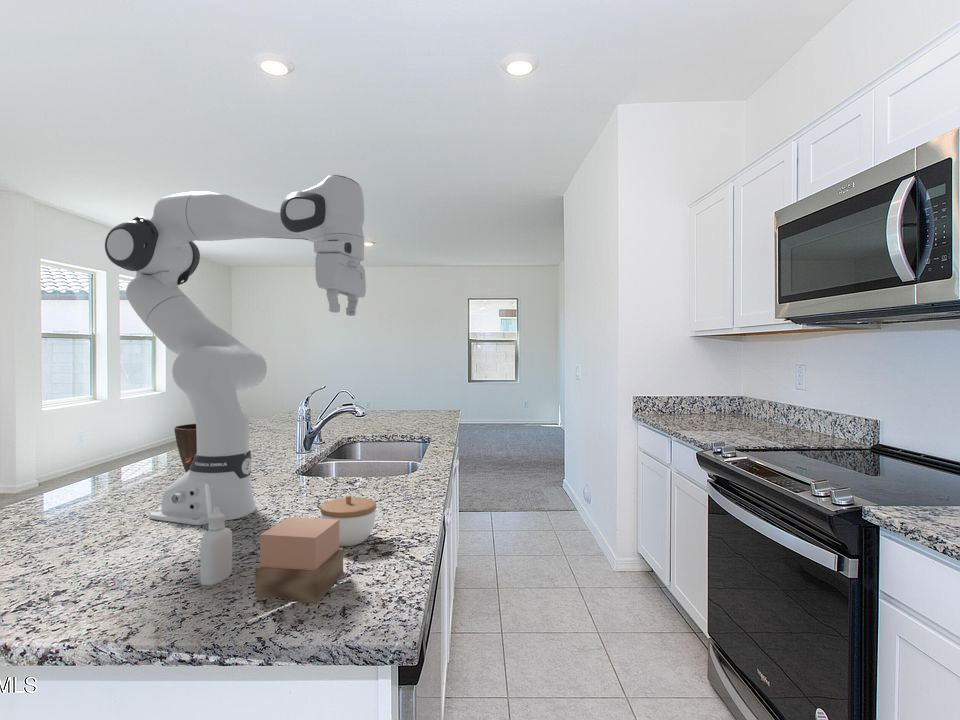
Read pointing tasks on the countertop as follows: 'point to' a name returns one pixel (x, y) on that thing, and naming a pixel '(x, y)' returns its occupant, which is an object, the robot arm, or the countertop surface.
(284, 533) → the terracotta top block
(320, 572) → the walnut base block
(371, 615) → the countertop surface
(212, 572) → the eye dropper bottle
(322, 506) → the lidded jar
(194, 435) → the plant pot
